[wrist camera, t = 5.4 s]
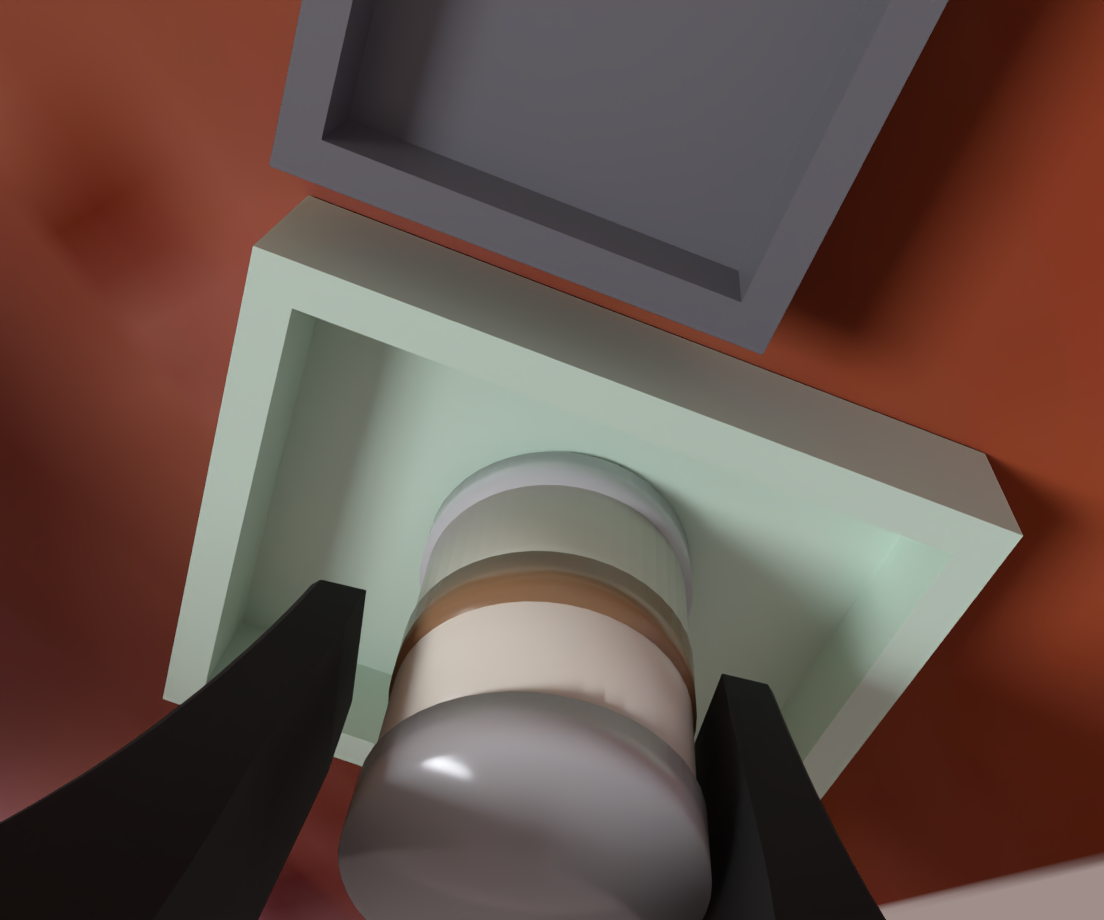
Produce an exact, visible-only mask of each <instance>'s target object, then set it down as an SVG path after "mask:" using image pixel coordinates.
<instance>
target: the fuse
mask: <svg viewBox="0 0 1104 920" xmlns="http://www.w3.org/2000/svg"><path fill="white" fill-rule="evenodd" d="M692 590H693V588H692V573H691V559H690V550H689V544H688V540H687V536H686V533H685V530H684V528H683V526H682V524H681V521H680V519H679V517H678V516H677V514H676V513H675V511H674V510H673V508H672V507H671V505H670V504H669V503H668V502H667V501H666V500H665V498H664V497H663V496H662V495H661V494H660V493H659V492H658V491H657V490H656V489H654V488H653V487H652V486H651V485H650V484H649V483H648V482H646V481H645V480H643V479H642V478H640V477H639V476H637V475H636V474H634V473H632V472H631V471H629V470H627V469H625V468H623V467H621V466H619V465H616V464H614V463H611V462H608V461H606V460H603V459H600V458H596V457H592V456H588V455H584V454H577V453H569V452H536V453H527V454H522V455H517V456H513V457H509V458H506V459H503V460H500V461H497V462H494V463H492V464H490V465H488V466H486V467H484V468H482V469H480V470H478V471H477V472H475V473H474V474H472V475H471V476H469V477H468V478H466V479H465V480H464V481H462V482H461V483H460V484H459V485H458V486H457V487H456V488H455V489H454V490H453V491H452V492H451V493H450V494H449V495H448V497H447V498H446V499H445V500H444V502H443V503H442V505H441V507H440V508H439V510H438V512H437V513H436V516H435V518H434V521H433V523H432V526H431V529H430V533H429V536H428V540H427V543H426V546H425V550H424V553H423V557H422V562H421V567H420V593H419V596H418V600H417V604H416V607H415V609H414V611H413V612H412V614H411V616H410V618H409V621H408V623H407V626H406V628H405V632H404V635H403V639H402V642H401V646H400V649H399V653H398V656H397V660H396V663H395V667H394V670H393V674H392V677H391V682H390V687H389V699H388V706H387V710H386V713H385V717H384V720H383V724H382V727H381V731H380V734H379V738H378V741H377V743H376V744H375V745H374V747H373V748H372V750H371V751H370V753H369V754H368V756H367V757H366V759H365V761H364V763H363V766H362V768H361V770H360V773H359V776H358V779H357V782H356V786H355V789H354V793H353V796H352V799H351V803H350V806H349V810H348V813H347V817H346V820H345V823H344V827H343V830H342V834H341V838H340V843H339V848H338V865H339V869H340V874H341V879H342V882H343V884H344V886H345V889H346V891H347V894H348V896H349V897H350V899H351V900H352V902H353V904H354V905H355V907H356V908H357V910H358V911H359V912H360V913H361V914H362V916H363V917H364V918H365V919H366V920H702V919H703V917H704V916H705V914H706V911H707V908H708V905H709V902H710V898H711V888H712V875H711V860H710V845H709V830H708V817H707V808H706V802H705V799H704V796H703V793H702V790H701V787H700V785H699V783H698V781H697V779H696V762H695V745H694V736H695V732H696V721H697V710H696V693H695V677H694V663H693V654H692V648H691V645H690V642H689V638H688V623H687V619H688V617H689V613H690V609H691V604H692Z"/></svg>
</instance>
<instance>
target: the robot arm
mask: <svg viewBox="0 0 1104 920" xmlns="http://www.w3.org/2000/svg"><path fill="white" fill-rule="evenodd" d="M365 597H366V590H364V589H359V588H355V587H351V586H347V585H342V584H338V583H334V582H329V581H325V580H319V581H317V582H315V583H313V584H311V586H310V587H309V588H308V589H307V590H306V591H305V592H304V593H303V594H302V595H301V596H300V597H299V599H298V600H297V601H296V602H295V603H294V604H293V605H292V606H291V607H290V608H289V609H288V610H287V611H286V612H285V613H284V614H283V615H282V616H281V617H280V618H279V619H278V620H277V621H276V622H275V623H274V624H273V625H272V626H271V627H270V628H268V629H267V630H266V631H265V632H264V633H263V634H262V635H261V636H260V637H259V638H258V639H257V640H256V641H255V642H254V643H253V644H252V645H250V646H249V647H248V648H247V649H246V650H245V651H244V652H242V653H241V654H240V655H239V656H238V657H237V658H236V659H235V660H233V661H232V662H231V663H230V664H229V665H228V666H227V667H225V668H224V669H223V670H222V671H221V672H220V673H219V674H218V675H216V676H215V677H214V678H213V679H212V680H211V681H209V682H208V683H207V684H206V685H205V686H203V687H202V688H201V689H200V690H198V691H197V692H196V693H195V694H193V695H192V696H191V697H189V698H188V699H187V700H186V701H184V702H183V703H182V704H181V705H179V706H178V707H177V708H175V709H174V710H173V711H172V712H170V713H169V714H168V715H167V716H165V717H164V718H163V719H161V720H160V721H159V722H158V723H156V724H155V725H154V726H152V727H151V728H149V729H148V730H147V731H145V732H144V733H143V734H141V735H140V736H138V737H137V738H136V739H134V740H133V741H131V742H130V743H129V744H127V745H126V746H124V747H123V748H121V749H120V750H118V751H117V752H115V753H114V754H112V755H111V756H109V757H108V758H106V759H105V760H103V761H102V762H100V763H99V764H97V765H96V766H94V767H93V768H91V769H90V770H88V771H87V772H85V773H84V774H82V775H80V776H79V777H77V778H75V779H74V780H72V781H70V782H69V783H67V784H66V785H64V786H62V787H61V788H59V789H57V790H56V791H54V792H52V793H51V794H49V795H47V796H46V797H44V798H42V799H41V800H39V801H37V802H36V803H34V804H32V805H31V806H29V807H27V808H25V809H23V810H22V811H20V812H18V813H16V814H15V815H13V816H11V817H9V818H7V819H6V820H4V821H2V822H0V920H258V919H259V916H260V914H261V912H262V910H263V908H264V906H265V904H266V902H267V900H268V898H269V895H270V893H271V891H272V889H273V887H274V885H275V883H276V881H277V879H278V877H279V874H280V872H281V870H282V868H283V866H284V864H285V862H286V860H287V858H288V856H289V853H290V851H291V849H292V847H293V845H294V843H295V841H296V839H297V837H298V835H299V833H300V830H301V828H302V826H303V824H304V822H305V820H306V818H307V816H308V813H309V811H310V809H311V807H312V805H313V803H314V801H315V799H316V796H317V794H318V792H319V790H320V788H321V786H322V784H323V782H324V779H325V777H326V775H327V773H328V770H329V768H330V765H331V762H332V759H333V756H334V753H335V750H336V748H337V745H338V742H339V739H340V736H341V733H342V730H343V727H344V724H345V721H346V718H347V715H348V712H349V709H350V706H351V703H352V699H353V691H354V683H355V675H356V667H357V660H358V652H359V644H360V636H361V628H362V621H363V613H364V605H365ZM694 745H695V762H696V779H697V781H698V783H699V785H700V787H701V790H702V793H703V796H704V799H705V802H706V808H707V817H708V830H709V845H710V860H711V875H712V888H711V898H710V902H709V905H708V908H707V911H706V914H705V916H704V917H703V919H702V920H886V919H885V917H884V916H883V914H882V912H881V911H880V909H879V907H878V906H877V904H876V902H875V901H874V899H873V897H872V896H871V894H870V892H869V890H868V889H867V887H866V885H865V883H864V882H863V880H862V878H861V876H860V875H859V873H858V871H857V869H856V868H855V866H854V864H853V862H852V861H851V859H850V857H849V855H848V853H847V851H846V849H845V847H844V846H843V844H842V842H841V840H840V838H839V836H838V834H837V832H836V830H835V828H834V826H833V824H832V822H831V820H830V818H829V816H828V814H827V812H826V810H825V808H824V806H823V804H822V802H821V800H820V798H819V796H818V794H817V792H816V790H815V788H814V786H813V784H812V781H811V779H810V777H809V775H808V773H807V771H806V768H805V766H804V764H803V762H802V760H801V757H800V755H799V753H798V751H797V748H796V746H795V744H794V742H793V739H792V737H791V735H790V732H789V730H788V728H787V725H786V723H785V720H784V718H783V716H782V713H781V711H780V708H779V706H778V703H777V701H776V699H775V696H774V694H773V692H772V690H771V688H770V687H769V685H768V684H765V683H761V682H756V681H752V680H748V679H744V678H739V677H735V676H731V675H726V674H721V677H720V680H719V682H718V685H717V687H716V690H715V692H714V695H713V697H712V700H711V703H710V705H709V708H708V710H707V713H706V715H705V718H704V720H703V723H702V725H701V728H700V731H699V733H698V736H697V738H696V741H695V743H694Z"/></svg>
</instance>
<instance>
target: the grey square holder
mask: <svg viewBox="0 0 1104 920" xmlns="http://www.w3.org/2000/svg"><path fill="white" fill-rule="evenodd" d="M947 2H948V0H302V4H301V9H300V14H299V19H298V24H297V29H296V34H295V39H294V44H293V49H292V54H291V59H290V64H289V69H288V74H287V79H286V84H285V89H284V94H283V99H282V104H281V109H280V114H279V119H278V124H277V129H276V134H275V139H274V144H273V149H272V154H271V159H270V164H269V166H271V167H273V168H276V169H279V170H281V171H284V172H286V173H289V174H292V175H294V176H297V177H299V178H302V179H305V180H307V181H310V182H313V183H315V184H318V185H320V186H323V187H326V188H328V189H331V190H333V191H336V192H339V193H341V194H344V195H346V196H349V197H352V198H354V199H357V200H359V201H362V202H365V203H367V204H370V205H373V206H375V207H378V208H380V209H383V210H386V211H388V212H391V213H393V214H396V215H399V216H401V217H404V218H406V219H409V220H412V221H414V222H417V223H420V224H422V225H425V226H427V227H430V228H433V229H435V230H438V231H440V232H443V233H446V234H448V235H451V236H453V237H456V238H459V239H461V240H464V241H467V242H469V243H472V244H474V245H477V246H480V247H482V248H485V249H487V250H490V251H493V252H495V253H498V254H500V255H503V256H506V257H508V258H511V259H514V260H516V261H519V262H521V263H524V264H527V265H529V266H532V267H534V268H537V269H540V270H542V271H545V272H547V273H550V274H553V275H555V276H558V277H560V278H563V279H566V280H568V281H571V282H574V283H576V284H579V285H581V286H584V287H587V288H589V289H592V290H594V291H597V292H600V293H602V294H605V295H607V296H610V297H613V298H615V299H618V300H621V301H623V302H626V303H628V304H631V305H634V306H636V307H639V308H641V309H644V310H647V311H649V312H652V313H654V314H657V315H660V316H662V317H665V318H668V319H670V320H673V321H675V322H678V323H681V324H683V325H686V326H688V327H691V328H694V329H696V330H699V331H701V332H704V333H707V334H709V335H712V336H714V337H717V338H720V339H722V340H725V341H728V342H730V343H733V344H735V345H738V346H741V347H743V348H746V349H748V350H751V351H754V352H756V353H759V354H761V355H763V353H764V351H765V349H766V348H767V346H768V344H769V342H770V340H771V338H772V336H773V334H774V332H775V330H776V328H777V327H778V325H779V323H780V321H781V319H782V317H783V315H784V313H785V311H786V309H787V307H788V306H789V304H790V302H791V300H792V298H793V296H794V294H795V292H796V290H797V288H798V286H799V285H800V283H801V281H802V279H803V277H804V275H805V273H806V271H807V269H808V267H809V265H810V264H811V262H812V260H813V258H814V256H815V254H816V252H817V250H818V248H819V246H820V244H821V243H822V241H823V239H824V237H825V235H826V233H827V231H828V229H829V227H830V225H831V224H832V222H833V220H834V218H835V216H836V214H837V212H838V210H839V208H840V206H841V204H842V203H843V201H844V199H845V197H846V195H847V193H848V191H849V189H850V187H851V185H852V183H853V182H854V180H855V178H856V176H857V174H858V172H859V170H860V168H861V166H862V164H863V162H864V161H865V159H866V157H867V155H868V153H869V151H870V149H871V147H872V145H873V143H874V141H875V140H876V138H877V136H878V134H879V132H880V130H881V128H882V126H883V124H884V122H885V120H886V119H887V117H888V115H889V113H890V111H891V109H892V107H893V105H894V103H895V101H896V99H897V98H898V96H899V94H900V92H901V90H902V88H903V86H904V84H905V82H906V80H907V78H908V77H909V75H910V73H911V71H912V69H913V67H914V65H915V63H916V61H917V59H918V57H919V56H920V54H921V52H922V50H923V48H924V46H925V44H926V42H927V40H928V38H929V36H930V35H931V33H932V31H933V29H934V27H935V25H936V23H937V21H938V19H939V17H940V15H941V14H942V12H943V10H944V8H945V6H946V4H947Z"/></svg>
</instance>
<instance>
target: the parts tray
mask: <svg viewBox="0 0 1104 920" xmlns="http://www.w3.org/2000/svg"><path fill="white" fill-rule="evenodd" d="M536 452H569V453H577V454H584V455H588V456H592V457H596V458H600V459H603V460H606V461H608V462H611V463H614V464H616V465H619V466H621V467H623V468H625V469H627V470H629V471H631V472H632V473H634V474H636V475H637V476H639V477H640V478H642V479H643V480H645V481H646V482H648V483H649V484H650V485H651V486H652V487H653V488H654V489H656V490H657V491H658V492H659V493H660V494H661V495H662V496H663V497H664V498H665V500H666V501H667V502H668V503H669V504H670V505H671V507H672V508H673V510H674V511H675V513H676V514H677V516H678V517H679V519H680V521H681V524H682V526H683V528H684V530H685V533H686V536H687V540H688V544H689V550H690V559H691V573H692V588H693V590H692V604H691V609H690V613H689V617H688V619H687V623H688V638H689V642H690V645H691V648H692V654H693V663H694V677H695V693H696V710H697V721H696V732H695V736H694V743H695V741H696V738H697V736H698V733H699V731H700V728H701V725H702V723H703V720H704V718H705V715H706V713H707V710H708V708H709V705H710V703H711V700H712V697H713V695H714V692H715V690H716V687H717V685H718V682H719V680H720V677H721V674H726V675H731V676H735V677H739V678H744V679H748V680H752V681H756V682H761V683H765V684H768V685H769V687H770V688H771V690H772V692H773V694H774V696H775V699H776V701H777V703H778V706H779V708H780V711H781V713H782V716H783V718H784V720H785V723H786V725H787V728H788V730H789V732H790V735H791V737H792V739H793V742H794V744H795V746H796V748H797V751H798V753H799V755H800V757H801V760H802V762H803V764H804V766H805V768H806V771H807V773H808V775H809V777H810V779H811V781H812V784H813V786H814V788H815V790H816V792H817V794H818V796H819V798H820V800H821V798H822V797H823V796H824V795H825V793H826V792H827V791H828V789H829V788H830V787H831V785H832V784H833V783H834V782H835V780H836V779H837V778H838V776H839V775H840V774H841V772H842V771H843V770H844V769H845V767H846V766H847V765H848V763H849V762H850V761H851V759H852V758H853V757H854V755H855V754H856V753H857V752H858V750H859V749H860V748H861V746H862V745H863V744H864V742H865V741H866V740H867V739H868V737H869V736H870V735H871V733H872V732H873V731H874V729H875V728H876V727H877V726H878V724H879V723H880V722H881V720H882V719H883V718H884V716H885V715H886V714H887V712H888V711H889V710H890V709H891V707H892V706H893V705H894V703H895V702H896V701H897V699H898V698H899V697H900V696H901V694H902V693H903V692H904V690H905V689H906V688H907V686H908V685H909V684H910V683H911V681H912V680H913V679H914V677H915V676H916V675H917V673H918V672H919V671H920V670H921V668H922V667H923V666H924V664H925V663H926V662H927V660H928V659H929V658H930V656H931V655H932V654H933V653H934V651H935V650H936V649H937V647H938V646H939V645H940V643H941V642H942V641H943V640H944V638H945V637H946V636H947V634H948V633H949V632H950V630H951V629H952V628H953V627H954V625H955V624H956V623H957V621H958V620H959V619H960V617H961V616H962V615H963V613H964V612H965V611H966V610H967V608H968V607H969V606H970V604H971V603H972V602H973V600H974V599H975V598H976V597H977V595H978V594H979V593H980V591H981V590H982V589H983V587H984V586H985V585H986V584H987V582H988V581H989V580H990V578H991V577H992V576H993V574H994V573H995V572H996V570H997V569H998V568H999V567H1000V565H1001V564H1002V563H1003V561H1004V560H1005V559H1006V557H1007V556H1008V555H1009V554H1010V552H1011V551H1012V550H1013V548H1014V547H1015V546H1016V544H1017V543H1018V542H1019V541H1020V539H1021V538H1022V537H1023V534H1022V532H1021V530H1020V528H1019V526H1018V523H1017V521H1016V519H1015V517H1014V515H1013V513H1012V511H1011V508H1010V506H1009V504H1008V502H1007V500H1006V498H1005V496H1004V493H1003V491H1002V489H1001V487H1000V485H999V483H998V480H997V478H996V476H995V474H994V472H993V470H992V468H991V465H990V463H989V461H988V459H987V457H986V455H985V453H982V452H979V451H977V450H974V449H972V448H969V447H966V446H964V445H961V444H958V443H956V442H953V441H951V440H948V439H945V438H943V437H940V436H937V435H935V434H932V433H930V432H927V431H924V430H922V429H919V428H917V427H914V426H911V425H909V424H906V423H903V422H901V421H898V420H896V419H893V418H890V417H888V416H885V415H883V414H880V413H877V412H875V411H872V410H869V409H867V408H864V407H862V406H859V405H856V404H854V403H851V402H848V401H846V400H843V399H841V398H838V397H835V396H833V395H830V394H828V393H825V392H822V391H820V390H817V389H814V388H812V387H809V386H807V385H804V384H801V383H799V382H796V381H794V380H791V379H788V378H786V377H783V376H780V375H778V374H775V373H773V372H770V371H767V370H765V369H762V368H759V367H757V366H754V365H752V364H749V363H746V362H744V361H741V360H739V359H736V358H733V357H731V356H728V355H725V354H723V353H720V352H718V351H715V350H712V349H710V348H707V347H704V346H702V345H699V344H697V343H694V342H691V341H689V340H686V339H684V338H681V337H678V336H676V335H673V334H670V333H668V332H665V331H663V330H660V329H657V328H655V327H652V326H650V325H647V324H644V323H642V322H639V321H636V320H634V319H631V318H629V317H626V316H623V315H621V314H618V313H615V312H613V311H610V310H608V309H605V308H602V307H600V306H597V305H595V304H592V303H589V302H587V301H584V300H581V299H579V298H576V297H574V296H571V295H568V294H566V293H563V292H561V291H558V290H555V289H553V288H550V287H547V286H545V285H542V284H540V283H537V282H534V281H532V280H529V279H526V278H524V277H521V276H519V275H516V274H513V273H511V272H508V271H506V270H503V269H500V268H498V267H495V266H492V265H490V264H487V263H485V262H482V261H479V260H477V259H474V258H472V257H469V256H466V255H464V254H461V253H458V252H456V251H453V250H451V249H448V248H445V247H443V246H440V245H437V244H435V243H432V242H430V241H427V240H424V239H422V238H419V237H417V236H414V235H411V234H409V233H406V232H403V231H401V230H398V229H396V228H393V227H390V226H388V225H385V224H383V223H380V222H377V221H375V220H372V219H369V218H367V217H364V216H362V215H359V214H356V213H354V212H351V211H348V210H346V209H343V208H341V207H338V206H335V205H333V204H330V203H328V202H325V201H322V200H320V199H317V198H314V197H312V196H309V195H308V196H307V197H306V198H305V199H304V200H303V201H301V202H300V203H299V204H298V205H297V206H296V207H295V208H294V209H293V210H292V211H291V212H290V213H288V214H287V215H286V216H285V217H284V218H283V219H282V220H281V221H280V222H279V223H278V224H276V225H275V226H274V227H273V228H272V229H271V230H270V231H269V232H268V233H267V234H266V235H264V236H263V237H262V238H261V239H260V240H259V241H258V242H257V243H256V244H255V245H254V246H253V249H252V254H251V259H250V264H249V269H248V274H247V279H246V284H245V289H244V294H243V299H242V304H241V309H240V314H239V319H238V324H237V329H236V334H235V339H234V344H233V349H232V354H231V359H230V364H229V369H228V374H227V379H226V384H225V389H224V394H223V399H222V404H221V409H220V414H219V419H218V424H217V429H216V434H215V439H214V444H213V449H212V454H211V459H210V464H209V469H208V474H207V479H206V484H205V489H204V494H203V499H202V504H201V509H200V514H199V519H198V524H197V529H196V534H195V539H194V544H193V549H192V554H191V559H190V564H189V569H188V574H187V579H186V584H185V590H184V595H183V600H182V605H181V610H180V615H179V620H178V625H177V630H176V635H175V640H174V645H173V650H172V655H171V660H170V665H169V670H168V675H167V680H166V685H165V690H164V695H163V699H165V700H168V701H171V702H173V703H176V704H179V705H181V704H182V703H183V702H184V701H186V700H187V699H188V698H189V697H191V696H192V695H193V694H195V693H196V692H197V691H198V690H200V689H201V688H202V687H203V686H205V685H206V684H207V683H208V682H209V681H211V680H212V679H213V678H214V677H215V676H216V675H218V674H219V673H220V672H221V671H222V670H223V669H224V668H225V667H227V666H228V665H229V664H230V663H231V662H232V661H233V660H235V659H236V658H237V657H238V656H239V655H240V654H241V653H242V652H244V651H245V650H246V649H247V648H248V647H249V646H250V645H252V644H253V643H254V642H255V641H256V640H257V639H258V638H259V637H260V636H261V635H262V634H263V633H264V632H265V631H266V630H267V629H268V628H270V627H271V626H272V625H273V624H274V623H275V622H276V621H277V620H278V619H279V618H280V617H281V616H282V615H283V614H284V613H285V612H286V611H287V610H288V609H289V608H290V607H291V606H292V605H293V604H294V603H295V602H296V601H297V600H298V599H299V597H300V596H301V595H302V594H303V593H304V592H305V591H306V590H307V589H308V588H309V587H310V586H311V584H313V583H315V582H317V581H319V580H325V581H329V582H334V583H338V584H342V585H347V586H351V587H355V588H359V589H364V590H366V597H365V605H364V613H363V621H362V628H361V636H360V644H359V652H358V660H357V667H356V675H355V683H354V691H353V699H352V703H351V706H350V709H349V712H348V715H347V718H346V721H345V724H344V727H343V730H342V733H341V736H340V739H339V742H338V745H337V748H336V750H335V753H334V756H333V757H336V758H339V759H342V760H345V761H347V762H350V763H353V764H356V765H359V766H363V763H364V761H365V759H366V757H367V756H368V754H369V753H370V751H371V750H372V748H373V747H374V745H375V744H376V743H377V741H378V738H379V734H380V731H381V727H382V724H383V720H384V717H385V713H386V710H387V706H388V699H389V687H390V682H391V677H392V674H393V670H394V667H395V663H396V660H397V656H398V653H399V649H400V646H401V642H402V639H403V635H404V632H405V628H406V626H407V623H408V621H409V618H410V616H411V614H412V612H413V611H414V609H415V607H416V604H417V600H418V596H419V593H420V567H421V562H422V557H423V553H424V550H425V546H426V543H427V540H428V536H429V533H430V529H431V526H432V523H433V521H434V518H435V516H436V513H437V512H438V510H439V508H440V507H441V505H442V503H443V502H444V500H445V499H446V498H447V497H448V495H449V494H450V493H451V492H452V491H453V490H454V489H455V488H456V487H457V486H458V485H459V484H460V483H461V482H462V481H464V480H465V479H466V478H468V477H469V476H471V475H472V474H474V473H475V472H477V471H478V470H480V469H482V468H484V467H486V466H488V465H490V464H492V463H494V462H497V461H500V460H503V459H506V458H509V457H513V456H517V455H522V454H527V453H536Z"/></svg>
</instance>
